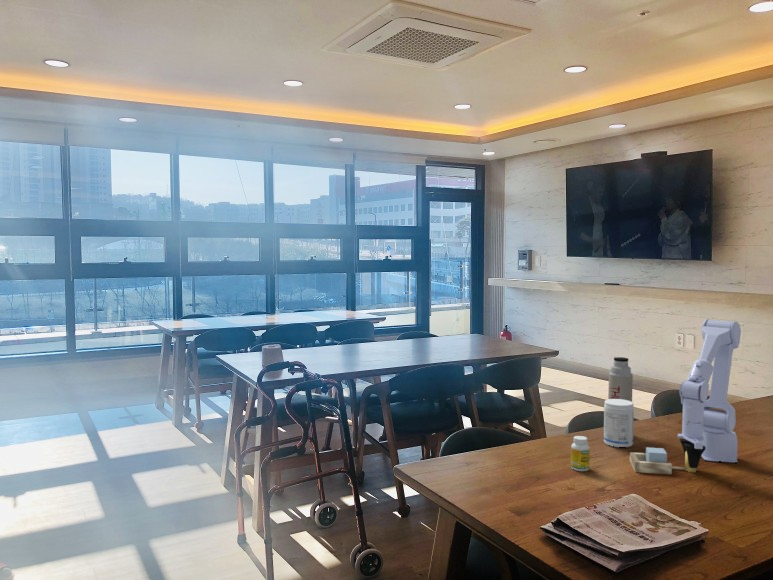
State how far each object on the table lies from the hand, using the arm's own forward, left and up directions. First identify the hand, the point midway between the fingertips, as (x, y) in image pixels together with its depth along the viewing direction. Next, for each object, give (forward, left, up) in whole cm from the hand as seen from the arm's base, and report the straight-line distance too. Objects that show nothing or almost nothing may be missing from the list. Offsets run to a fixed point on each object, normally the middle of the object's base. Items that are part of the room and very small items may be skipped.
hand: (691, 465), depth 189 cm
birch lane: (+11, 0, -2) cm, 11 cm away
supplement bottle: (+33, +5, -2) cm, 33 cm away
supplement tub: (+18, -23, -2) cm, 29 cm away
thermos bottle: (+16, -34, -2) cm, 37 cm away
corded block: (+6, 0, -2) cm, 6 cm away
